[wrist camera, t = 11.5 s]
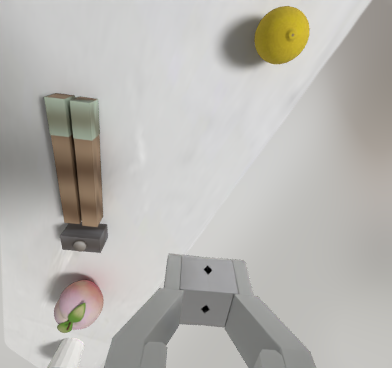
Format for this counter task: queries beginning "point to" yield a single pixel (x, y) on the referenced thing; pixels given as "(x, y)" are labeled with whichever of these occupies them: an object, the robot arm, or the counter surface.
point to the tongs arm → (88, 158)
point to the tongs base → (70, 178)
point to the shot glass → (68, 354)
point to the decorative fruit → (78, 306)
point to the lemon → (281, 35)
